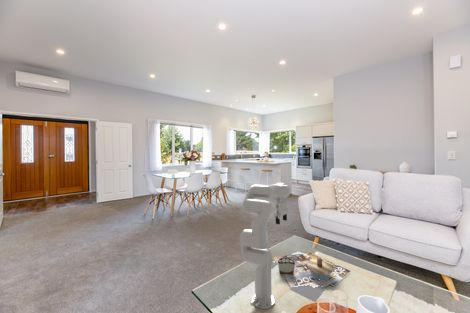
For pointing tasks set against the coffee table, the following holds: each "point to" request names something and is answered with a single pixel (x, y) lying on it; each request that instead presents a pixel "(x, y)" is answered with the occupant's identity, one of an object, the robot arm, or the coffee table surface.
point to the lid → (319, 267)
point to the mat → (309, 291)
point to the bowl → (320, 276)
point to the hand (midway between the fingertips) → (281, 222)
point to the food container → (286, 265)
